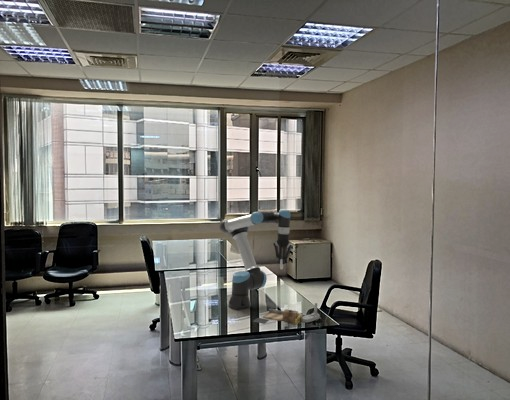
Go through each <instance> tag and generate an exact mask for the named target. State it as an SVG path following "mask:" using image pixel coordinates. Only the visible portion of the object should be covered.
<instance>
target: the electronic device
mask: <svg viewBox="0 0 510 400" xmlns="http://www.w3.org/2000/svg"><path fill="white" fill-rule="evenodd" d="M313 305H314V308H313V309H314V310H313V312H312V313H309V314H306V315H304V316H303V315H302V317H301V321H300V322H302V323H311V322H313V321H317V320H319V319H320V316H321V315H320V314H319V313H318V303H316V302H315V303H314V304H313ZM316 319H317V320H316Z"/></svg>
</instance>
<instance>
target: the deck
mask: <svg viewBox="0 0 510 400" xmlns="http://www.w3.org/2000/svg"><path fill="white" fill-rule="evenodd" d="M262 319H267V320H273V321H277V322H283V315H282V314H276V313H271V312H269V311H268V312H267V313H266V314H265V315H263V316H262Z"/></svg>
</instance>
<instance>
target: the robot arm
mask: <svg viewBox="0 0 510 400" xmlns="http://www.w3.org/2000/svg"><path fill="white" fill-rule="evenodd" d="M278 211H279V212H278ZM278 211H277V212H276V211H273V210H271V211H254V212H252V213H251V214H247V215H243V216H239V217H235V218H224V219H222V220H221V222H220V223H219V230H220V232H221V233H222V234H224V235H227V236H231V237H232V240H234V241H235V243H236V245H237V248H238V251H239V254H240V257H241V260H242V263H243V267H244V270H241V271H236V272H234V273H233V275H232V281H231V284H232V285H231V296H230V298H229V301H228V307H229V308H230V309H234V310H238V311H239V310H249V309H250V308H251V307H252V306H251V305H252V304H251V300H250V296H249V295H250V293H249V292H250V291H251V290H257V289H261V288H263V287H265V285H267V284H266V283H267V274H266V272H265V271H262V270H261V268H260V266H258V265H257V262H256V260H255V257H254V254H253V251H252V247H251V245H250V241H249V239H248V232H249V227H252V226H255V225H261V224H278V226H277V227H278V228H277V240H276V242H273V247H274V251H275V252H274V253H275V258H277V259H278V264H279V270H283V269H284V265H286V260H287V259H289V256H290V253H291V249H292V247H293V244H291V242H290V228H291V225H290V224H291V211H290V209H289V210H288V209H280V210H278ZM287 247H288V248H287Z"/></svg>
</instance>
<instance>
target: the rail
mask: <svg viewBox="0 0 510 400" xmlns="http://www.w3.org/2000/svg"><path fill="white" fill-rule="evenodd" d="M283 311H284V310H279V309H273V308H269V309H268V312H271V313H276V314H282V315H283ZM301 317H303V314H302V313H298V316H297V318H296V319H295V323H294V325H299V324H300V322H302V321H301Z"/></svg>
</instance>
